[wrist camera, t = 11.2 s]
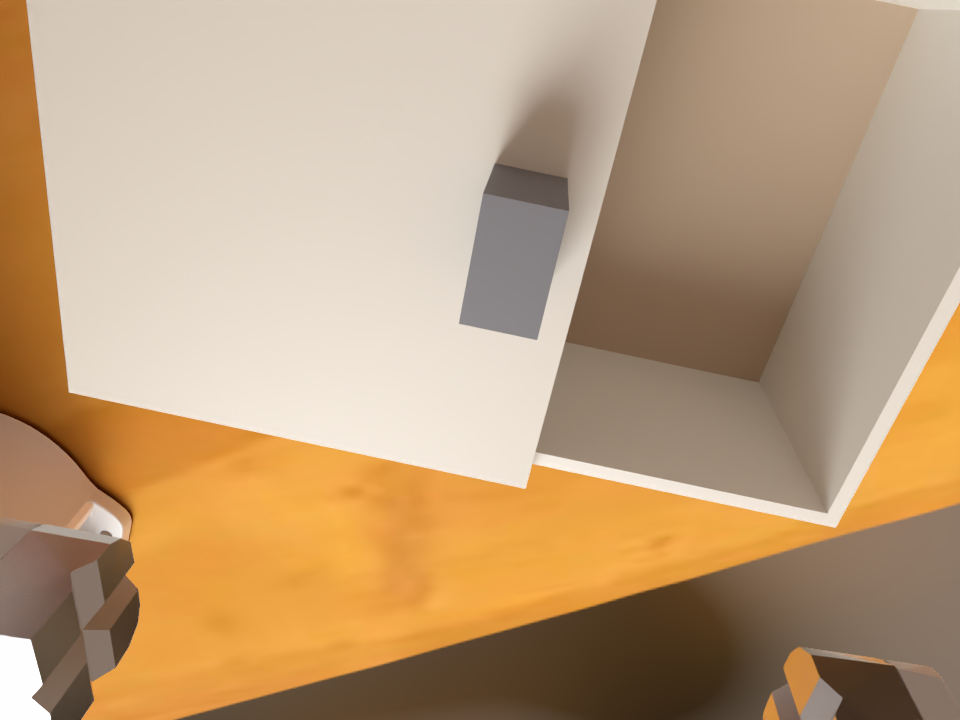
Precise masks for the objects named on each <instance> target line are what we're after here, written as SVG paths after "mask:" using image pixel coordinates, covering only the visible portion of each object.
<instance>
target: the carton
mask: <svg viewBox="0 0 960 720" xmlns="http://www.w3.org/2000/svg"><path fill="white" fill-rule="evenodd" d="M959 302H960V0H657V2H656V6H655V9H654V13H653V17H652V21H651V24H650V28H649V32H648V35H647V39H646V43H645V47H644V50H643V54H642V58H641V61H640V65H639V69H638V73H637V76H636V80H635V84H634V87H633V91H632V95H631V99H630V102H629V106H628V110H627V114H626V117H625V121H624V125H623V128H622V132H621V136H620V140H619V143H618V147H617V151H616V154H615V158H614V162H613V166H612V169H611V173H610V177H609V180H608V184H607V188H606V192H605V195H604V199H603V203H602V206H601V210H600V214H599V218H598V221H597V225H596V229H595V232H594V236H593V240H592V244H591V247H590V251H589V255H588V258H587V262H586V266H585V270H584V273H583V277H582V281H581V284H580V288H579V292H578V296H577V299H576V303H575V307H574V311H573V314H572V318H571V322H570V325H569V329H568V333H567V337H566V340H565V344H564V348H563V351H562V355H561V359H560V363H559V366H558V370H557V374H556V377H555V381H554V385H553V389H552V392H551V396H550V400H549V403H548V407H547V411H546V415H545V418H544V422H543V426H542V429H541V433H540V437H539V441H538V444H537V448H536V452H535V455H534V459H533V463H532V464H536V465H541V466H545V467H550V468H555V469H560V470H564V471H569V472H574V473H579V474H583V475H588V476H593V477H598V478H602V479H607V480H612V481H617V482H621V483H626V484H631V485H636V486H640V487H645V488H650V489H654V490H659V491H664V492H669V493H673V494H678V495H683V496H688V497H692V498H697V499H702V500H707V501H711V502H716V503H721V504H726V505H730V506H735V507H740V508H745V509H749V510H754V511H759V512H764V513H768V514H773V515H778V516H783V517H787V518H792V519H797V520H802V521H806V522H811V523H816V524H821V525H825V526H830V527H835V528H836V526H837V524H838V523H839V521H840V519H841V517H842V515H843V513H844V512H845V510H846V508H847V506H848V504H849V503H850V501H851V499H852V497H853V495H854V493H855V492H856V490H857V488H858V486H859V484H860V483H861V481H862V479H863V477H864V475H865V473H866V472H867V470H868V468H869V466H870V464H871V463H872V461H873V459H874V457H875V455H876V453H877V452H878V450H879V448H880V446H881V444H882V443H883V441H884V439H885V437H886V435H887V433H888V432H889V430H890V428H891V426H892V424H893V422H894V421H895V419H896V417H897V415H898V413H899V412H900V410H901V408H902V406H903V404H904V402H905V401H906V399H907V397H908V395H909V393H910V392H911V390H912V388H913V386H914V384H915V382H916V381H917V379H918V377H919V375H920V373H921V372H922V370H923V368H924V366H925V364H926V362H927V361H928V359H929V357H930V355H931V353H932V352H933V350H934V348H935V346H936V344H937V342H938V341H939V339H940V337H941V335H942V333H943V332H944V330H945V328H946V326H947V324H948V322H949V321H950V319H951V317H952V315H953V313H954V312H955V310H956V308H957V306H958V304H959Z"/></svg>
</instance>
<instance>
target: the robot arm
mask: <svg viewBox="0 0 960 720" xmlns="http://www.w3.org/2000/svg"><path fill="white" fill-rule="evenodd" d="M131 524H132V520H131V516H130V514H129V513H128V512H127V510H126V509H125V508H124V507H122V506H121V505H120V504H119V503H117V502H116V501H115V500H113V499H112V498H111V497H109V496H108V495H106V494H105V493H103V492H102V491H100V490H99V489H97V488H96V487H95V486H94V485H93V484H92V483H91V481H90V480H89V479H88V478H87V477H86V476H85V474H84V473H83V472H82V470H81V469H80V468H79V467H78V466H77V464H76V463H75V462H74V461H73V460H72V459H71V458H70V457H69V456H68V455H67V454H66V453H65V452H64V451H63V450H62V449H61V448H60V447H59V446H58V445H56V444H55V443H54V442H53V441H51V440H50V439H49V438H47V437H46V436H45V435H43V434H42V433H40V432H39V431H37V430H35V429H34V428H32V427H30V426H29V425H27V424H25V423H23V422H21V421H19V420H17V419H14V418H12V417H10V416H7V415H4V414H2V413H0V720H81V719H82V717H83V716H84V714H85V713H86V711H87V710H88V709H89V707H90V706H91V704H92V703H93V701H94V695H93V685H92V681H94V680H96V679H97V678H99V677H101V676H102V675H104V674H106V673H107V672H109V671H111V670H112V669H114V668H116V666H117V665H118V663H119V661H120V660H121V658H122V657H123V655H124V654H125V652H126V650H127V649H128V647H129V645H130V642H131V640H132V637H133V634H134V632H135V629H136V626H137V623H138V617H139V608H140V601H139V593H138V589H137V588H136V587H135V585H134V584H133V583H132V582H131V581H130V580H129V579H128V578H127V577H126V573H127V572H128V571H129V569H130V568H131V566H132V565H133V564H134V558H133V553H132V548H131V543H130V542H129V541H128V540H129V534H130V529H131ZM783 669H784V671H785V674H786V678H787V680H788V684H786V685H784V686H783V687H781V688H779V689H777V690H776V691H774V692H772V693H771V695H770V698H769V700H768V703H767V705H766V707H765V710H764V713H763V720H960V708H959V706H958V705H957V703H956V701H955V699H954V698H953V696H952V694H951V693H950V691H949V689H948V687H947V686H946V684H945V682H944V681H943V679H942V678H941V676H940V675H939V674H938V673H937V672H935V671H934V670H933V669H932V668H931V667H929V666H923V665H915V664H909V663H903V662H897V661H890V660H880V659H878V658H871V657H864V656H858V655H851V654H844V653H838V652H831V651H824V650H817V649H811V648H804V647H798V648H797V649H795V650H794V651H793V652H791V653H790V655H789V657H788V659H787V661H786V663H785V665H784V668H783Z"/></svg>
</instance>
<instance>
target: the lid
mask: <svg viewBox="0 0 960 720" xmlns="http://www.w3.org/2000/svg"><path fill="white" fill-rule="evenodd" d="M26 2H27V11H28V21H29V30H30V39H31V48H32V57H33V66H34V76H35V85H36V94H37V103H38V112H39V122H40V131H41V140H42V149H43V158H44V168H45V177H46V186H47V195H48V204H49V213H50V223H51V232H52V241H53V250H54V259H55V269H56V278H57V287H58V296H59V305H60V314H61V324H62V333H63V342H64V351H65V360H66V370H67V379H68V388H69V393H74V394H79V395H83V396H88V397H93V398H98V399H102V400H107V401H112V402H117V403H121V404H126V405H131V406H136V407H140V408H145V409H150V410H155V411H159V412H164V413H169V414H173V415H178V416H183V417H188V418H192V419H197V420H202V421H207V422H211V423H216V424H221V425H226V426H230V427H235V428H240V429H245V430H249V431H254V432H259V433H264V434H268V435H273V436H278V437H283V438H287V439H292V440H297V441H302V442H306V443H311V444H316V445H320V446H325V447H330V448H335V449H339V450H344V451H349V452H354V453H358V454H363V455H368V456H373V457H377V458H382V459H387V460H392V461H396V462H401V463H406V464H411V465H415V466H420V467H425V468H430V469H434V470H439V471H444V472H449V473H453V474H458V475H463V476H467V477H472V478H477V479H482V480H486V481H491V482H496V483H501V484H505V485H510V486H515V487H520V488H524V489H526V485H527V481H528V478H529V474H530V470H531V467H532V463H533V459H534V455H535V452H536V448H537V444H538V441H539V437H540V433H541V429H542V426H543V422H544V418H545V415H546V411H547V407H548V403H549V400H550V396H551V392H552V389H553V385H554V381H555V377H556V374H557V370H558V366H559V363H560V359H561V355H562V351H563V348H564V344H565V340H566V337H567V333H568V329H569V325H570V322H571V318H572V314H573V311H574V307H575V303H576V299H577V296H578V292H579V288H580V284H581V281H582V277H583V273H584V270H585V266H586V262H587V258H588V255H589V251H590V247H591V244H592V240H593V236H594V232H595V229H596V225H597V221H598V218H599V214H600V210H601V206H602V203H603V199H604V195H605V192H606V188H607V184H608V180H609V177H610V173H611V169H612V166H613V162H614V158H615V154H616V151H617V147H618V143H619V140H620V136H621V132H622V128H623V125H624V121H625V117H626V114H627V110H628V106H629V102H630V99H631V95H632V91H633V87H634V84H635V80H636V76H637V73H638V69H639V65H640V61H641V58H642V54H643V50H644V47H645V43H646V39H647V35H648V32H649V28H650V24H651V21H652V17H653V13H654V9H655V6H656V2H657V0H26Z"/></svg>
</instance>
